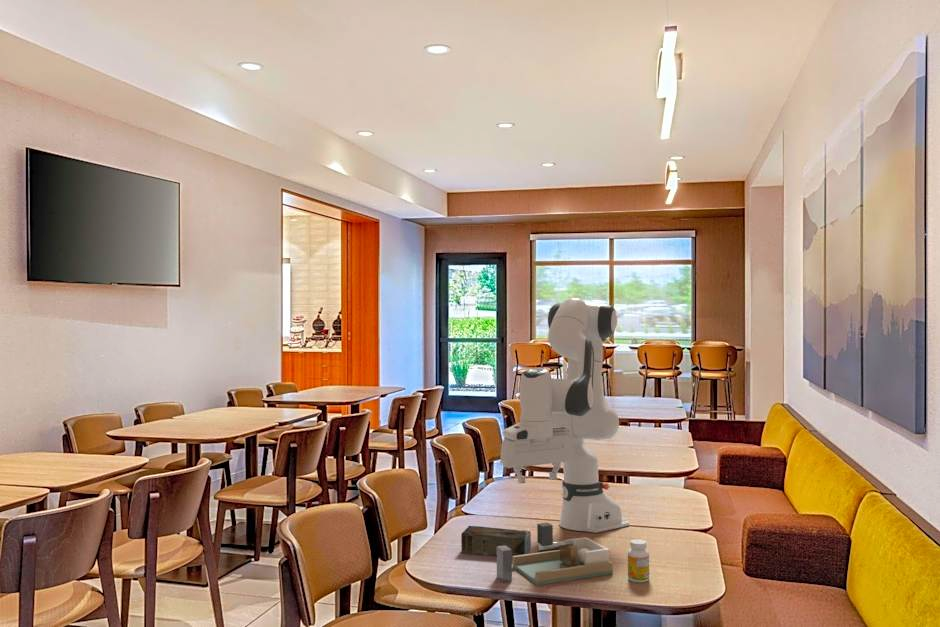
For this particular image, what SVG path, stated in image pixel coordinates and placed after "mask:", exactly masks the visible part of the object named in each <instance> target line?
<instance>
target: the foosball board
mask: <svg viewBox="0 0 940 627" xmlns="http://www.w3.org/2000/svg"><path fill="white" fill-rule="evenodd" d="M566 540H572V541H573V545H575V546H576V547H577V553H578V551H579V550H580V549H582V548H586V549H588V550H589V551H585V552H584V564H583V563H581V562H579V561H578V566H575V567H569V566H567V565H566V564H564V563H563V562H561V561H560V550H553V551H546V552H539V553H537V552H533V553H528V554H524V555H517V556H513V557H512V569H514V568H515V569H514V570H516V571H517V570H518V571H519V574H520V575H522V574H523V575H522V576H524V577H525V578H527V579H528V580H529V581H530V582H532V583H534V585H536V586H543V585H549V584H550V585H551V584H556V582H557V583H561V582H568V581H569V582H570V581H575V580H581V579H589V578H594V577H601V576H607V575H612V574H613V575H614V573H613V571H614V569H613V568H614V565H613V562H612V561H610V548H607V547H606V546H604V545H602V544H600V543H598V542H596V541H595V540H593V539H591V538H589V537H587V536H585V537H584V536H583V537H578V538H570V539H564V540H563V541H566ZM518 571H517V572H518Z"/></svg>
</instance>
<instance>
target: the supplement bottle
mask: <svg viewBox="0 0 940 627" xmlns="http://www.w3.org/2000/svg"><path fill="white" fill-rule="evenodd" d="M629 541H630V544H629V545H630V548H629V549H628V550H627V578H628V580H629V581H631V582H634V583H647V582H648V581H649V580H650V552H649V550H648V549H647V541H646V540H644V539H639V538H638V539H632V540H629Z"/></svg>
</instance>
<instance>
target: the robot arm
mask: <svg viewBox="0 0 940 627" xmlns="http://www.w3.org/2000/svg"><path fill="white" fill-rule="evenodd" d="M617 324H618V316H617V311H616V309H615V308H614V306H612V305H610V304H607V303H596V302H595V303H594V302H586V301H584V300H583V299H580V298H577V297H572V298H570V297H569V298H568V299H567V298H566V300H563V302H560V303H555V304H553V305H551V307H550V309H549V311H548V314H547V326H548V329H549V330H548V333H547V336H548V337H547V339H548V343H549V346H550V347H551V349H552V350H553V351H554V352H555V353H556V354H557V355H559V356H561V357H563V358H565V359H566V358H567V359H568V361H567V362H568V363H567V372H566V373H567V374H566V378H554V377H553V378H552V377H551V373H550V371H549V370H548V369H546V368H543V367H542V368H541V367H537V368H536V367H535V368H529V369H525V370H524V371H523V372H522V373H521V376H520V383H519V405H520V416H519V422H517V423H515V424H512V425H511V426H509V427H507V428H504V429H503V432H502V435H503V437H504V439H503V440H502V442H501V445H500V447H501V448H500V463H501V465H502V466H503V467H504V468H506V469H512V468H513V472H514V473H515V474H516V476H517V483H518V484H526V476H525V475H522V472H521V471H523V470H522V468H523V467H533V466H539V465H550V464H551V466H553V467H552V470H551V471H549V472H548V475H549V476H548V478H549V479H550V480H551V481H552V480H553V481H554V480H557V479H558V472H559V470H560V468H561V466H562V465H563V466H562V467H563V468H562V469H563V480H562V484H561V487H562V489H561V490H562V508H561V515H560V518H559V522H558V525H559V526H560V527H561V528H563V529H565V530H571V531H578V532H589V533H593V534H594V533H601V532H606V531H610V530H614V529H619V528H624V527H627V526H630V521H629V520H628V519H626V518H625V517H623V516H622V510H621V507H620V505H619V503H618V502H617V501H616V500H614V499H612V498H611V497H610V496H609V495H607V494H606V492H604V490H605V491H607V490H609V488H610V484H609V483H608V482H602V481H599V459H598V456H597V455H596V453H594V451H592V450H591V449H589V447H588V446H587V445H586V443H585V441H584V440H594V441H601V440H603V441H604V440H609V439H610V440H611V439H613V438H614V437H615V436H616V434H617V433H618V430H619V428H620V419H619V417H618V414H617V412H616V410H615V409H614V408H612V407H611V406H610V405H609V403H608V401H607V400H606V397H605V394H604V391H603V385H602V381H603V380H602V377H603V376H602V375H603V364H604V363H603V362H604V347H603V342H606V340H607V339H608V338H610V337H611V336H612V335H613V334H614V333H615V331H616V328H617ZM561 463H562V465H561ZM603 489H604V490H603Z"/></svg>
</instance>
